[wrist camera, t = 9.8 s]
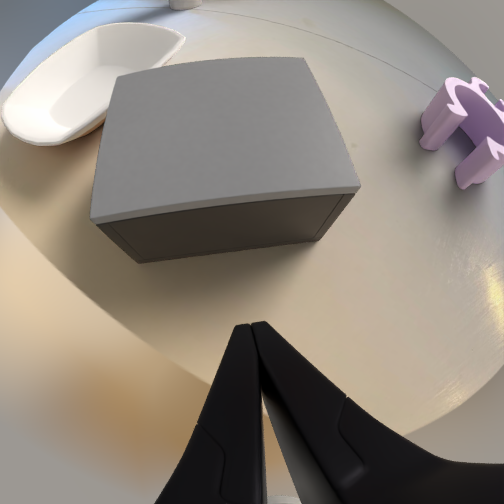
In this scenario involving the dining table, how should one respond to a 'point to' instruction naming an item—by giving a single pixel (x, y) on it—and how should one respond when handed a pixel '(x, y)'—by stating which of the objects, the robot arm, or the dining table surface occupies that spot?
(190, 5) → the coffee cup
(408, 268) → the dining table surface
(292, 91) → the box lid
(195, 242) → the grey hinged lid box
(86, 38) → the bowl
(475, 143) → the clip
